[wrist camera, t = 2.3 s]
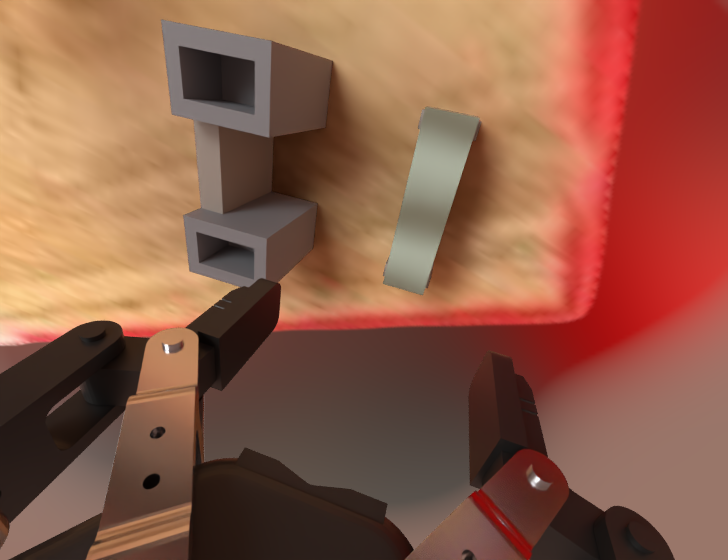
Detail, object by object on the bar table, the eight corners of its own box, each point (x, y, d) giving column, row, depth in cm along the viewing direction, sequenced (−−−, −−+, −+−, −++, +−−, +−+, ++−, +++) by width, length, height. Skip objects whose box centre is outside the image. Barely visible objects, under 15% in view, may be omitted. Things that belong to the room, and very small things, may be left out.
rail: (429, 105, 26) (421, 106, 21) (479, 115, 26) (483, 119, 21) (392, 255, 33) (380, 283, 28) (431, 265, 33) (425, 296, 28)
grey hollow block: (254, 45, 28) (161, 19, 19) (332, 60, 27) (271, 41, 18) (253, 231, 36) (189, 271, 28) (312, 248, 35) (265, 294, 27)
